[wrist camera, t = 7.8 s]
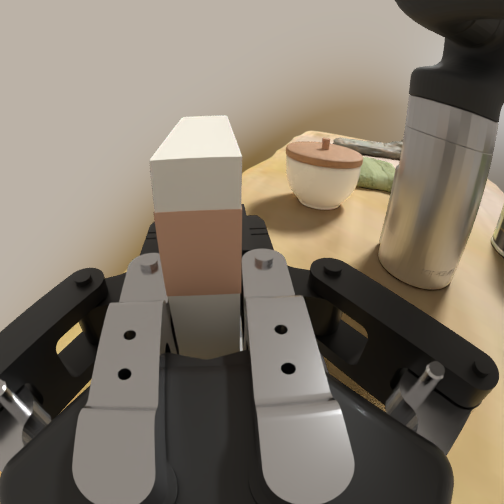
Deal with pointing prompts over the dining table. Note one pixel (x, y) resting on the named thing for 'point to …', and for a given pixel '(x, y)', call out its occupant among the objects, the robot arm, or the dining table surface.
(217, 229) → the banded cream bar
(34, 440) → the robot arm
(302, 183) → the lidded jar
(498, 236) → the coffee can
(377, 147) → the long grey stone
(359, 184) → the washcloth
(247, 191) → the dining table surface
